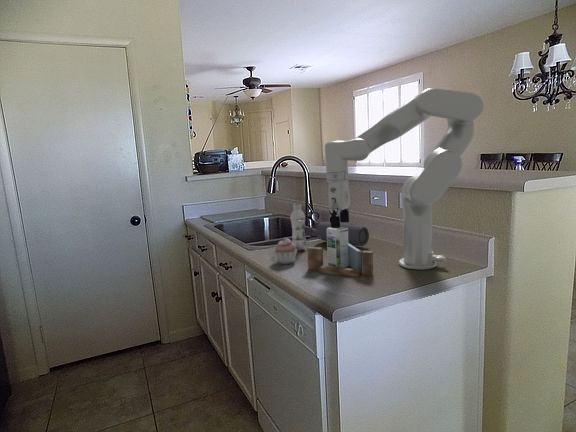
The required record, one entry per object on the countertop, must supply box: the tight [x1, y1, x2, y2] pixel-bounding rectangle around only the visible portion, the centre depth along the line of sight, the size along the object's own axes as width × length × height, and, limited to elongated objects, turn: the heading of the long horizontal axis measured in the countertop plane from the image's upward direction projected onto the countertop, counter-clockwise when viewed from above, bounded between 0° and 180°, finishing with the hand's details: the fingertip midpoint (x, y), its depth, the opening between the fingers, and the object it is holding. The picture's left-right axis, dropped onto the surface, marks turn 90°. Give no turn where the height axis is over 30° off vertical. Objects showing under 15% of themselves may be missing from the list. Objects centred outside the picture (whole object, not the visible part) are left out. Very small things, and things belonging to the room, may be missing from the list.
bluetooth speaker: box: [316, 221, 370, 247], centre depth 168 cm, size 23×9×10 cm, turn 46°
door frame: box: [306, 246, 374, 278], centre depth 130 cm, size 23×4×8 cm, turn 63°
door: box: [348, 243, 363, 275], centre depth 134 cm, size 14×1×8 cm, turn 11°
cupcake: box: [273, 236, 299, 265], centre depth 146 cm, size 9×9×10 cm
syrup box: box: [326, 227, 350, 268], centre depth 137 cm, size 6×6×14 cm
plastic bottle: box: [289, 203, 307, 251], centre depth 162 cm, size 6×7×20 cm
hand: (340, 224), depth 135 cm, fingers open, 9 cm apart
